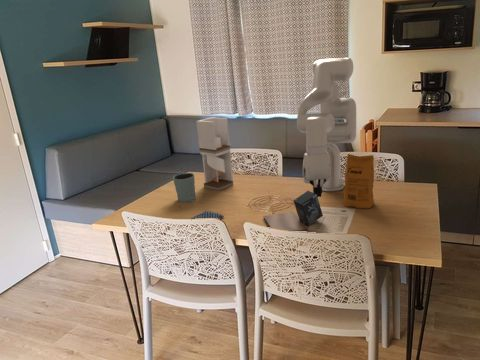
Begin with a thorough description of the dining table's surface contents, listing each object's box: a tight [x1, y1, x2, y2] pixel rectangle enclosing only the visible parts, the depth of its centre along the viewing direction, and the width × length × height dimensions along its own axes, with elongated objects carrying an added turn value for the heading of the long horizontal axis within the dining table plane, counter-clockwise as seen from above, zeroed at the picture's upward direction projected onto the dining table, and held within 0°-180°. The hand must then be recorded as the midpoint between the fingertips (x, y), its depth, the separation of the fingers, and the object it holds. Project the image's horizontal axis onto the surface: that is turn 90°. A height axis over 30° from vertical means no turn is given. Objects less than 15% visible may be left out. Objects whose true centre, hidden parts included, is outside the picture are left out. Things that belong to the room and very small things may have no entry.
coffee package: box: [343, 153, 375, 209], centre depth 169 cm, size 10×12×22 cm
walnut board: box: [263, 211, 309, 232], centre depth 158 cm, size 12×18×2 cm
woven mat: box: [191, 210, 225, 220], centre depth 170 cm, size 10×11×2 cm
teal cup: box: [172, 172, 197, 203], centre depth 195 cm, size 10×10×12 cm
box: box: [293, 190, 324, 227], centre depth 157 cm, size 8×6×11 cm
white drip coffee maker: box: [196, 116, 234, 191], centre depth 207 cm, size 11×11×35 cm
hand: (317, 195), depth 156 cm, fingers closed
